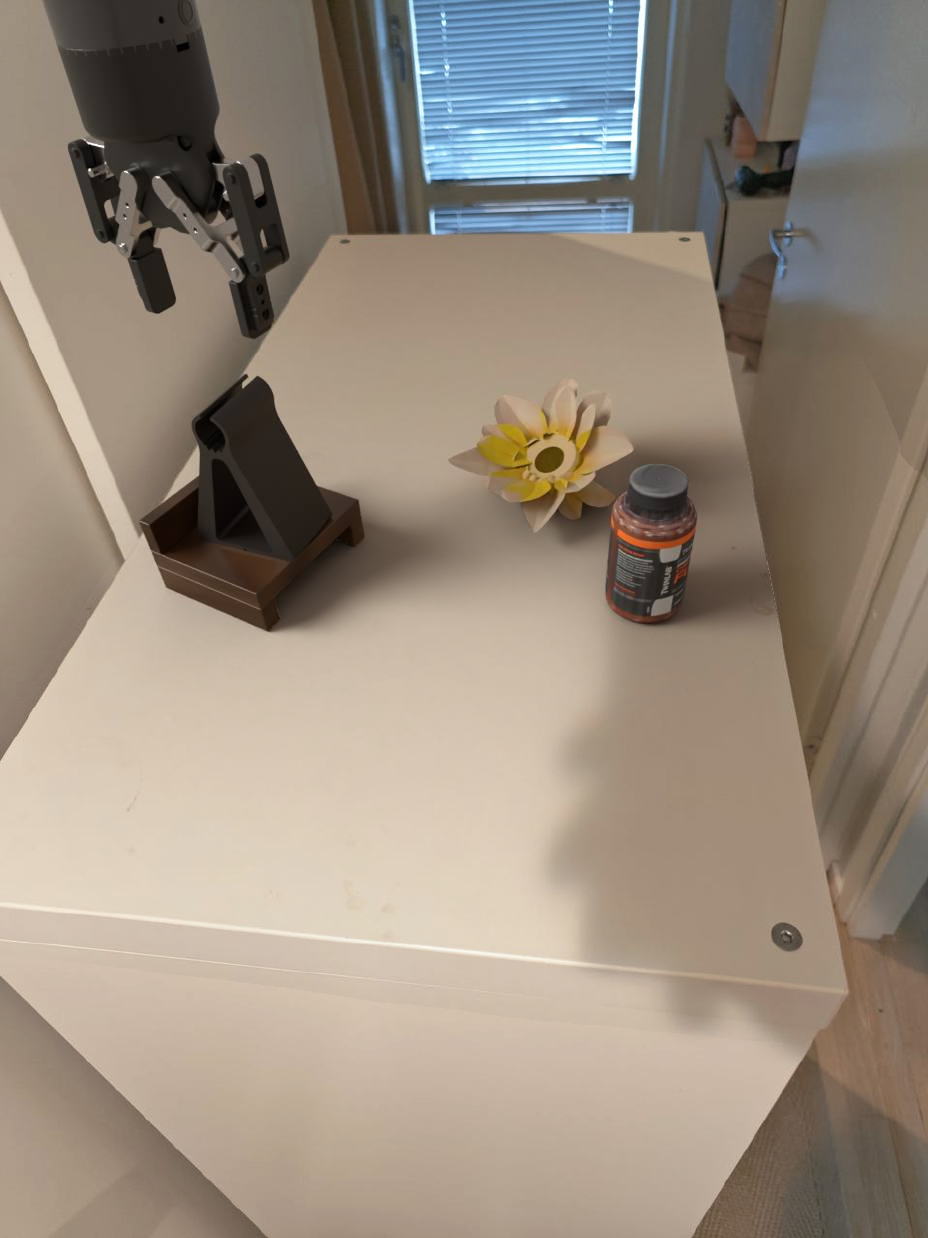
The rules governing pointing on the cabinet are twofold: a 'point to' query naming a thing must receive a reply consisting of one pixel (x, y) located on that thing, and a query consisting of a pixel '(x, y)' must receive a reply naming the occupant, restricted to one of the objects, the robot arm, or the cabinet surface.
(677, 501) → the supplement bottle
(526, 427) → the decorative flower
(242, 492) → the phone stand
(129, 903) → the cabinet surface
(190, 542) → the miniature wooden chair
